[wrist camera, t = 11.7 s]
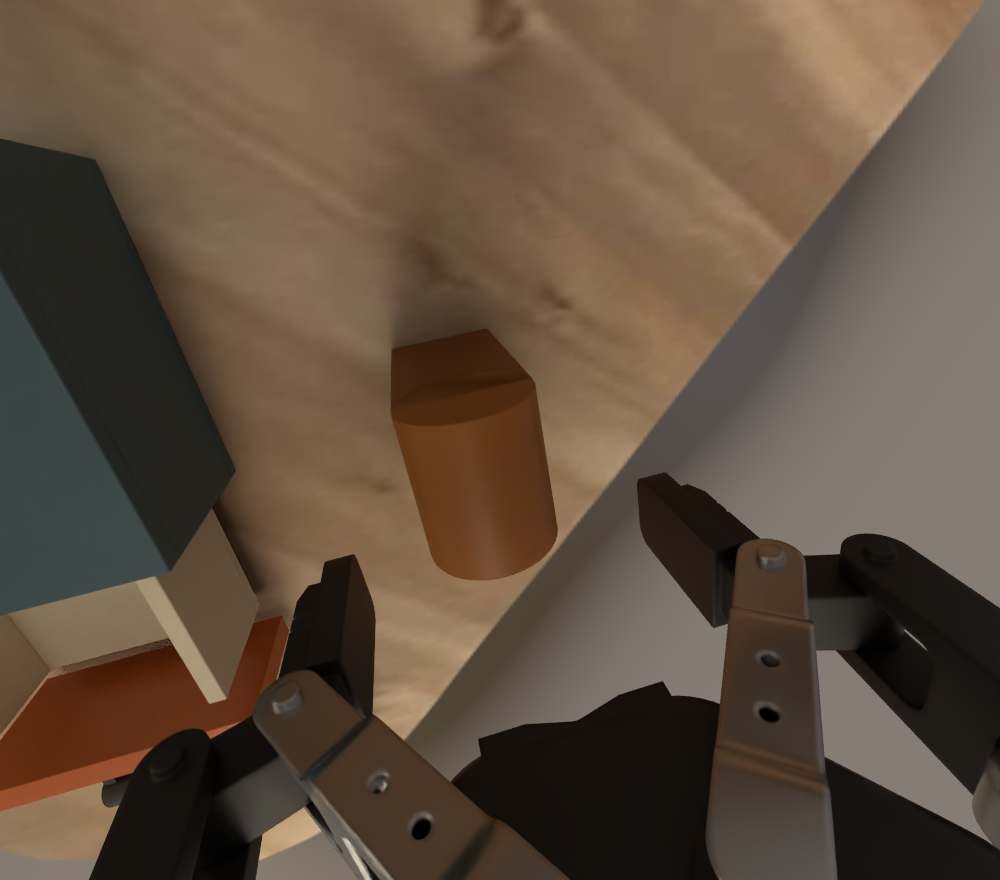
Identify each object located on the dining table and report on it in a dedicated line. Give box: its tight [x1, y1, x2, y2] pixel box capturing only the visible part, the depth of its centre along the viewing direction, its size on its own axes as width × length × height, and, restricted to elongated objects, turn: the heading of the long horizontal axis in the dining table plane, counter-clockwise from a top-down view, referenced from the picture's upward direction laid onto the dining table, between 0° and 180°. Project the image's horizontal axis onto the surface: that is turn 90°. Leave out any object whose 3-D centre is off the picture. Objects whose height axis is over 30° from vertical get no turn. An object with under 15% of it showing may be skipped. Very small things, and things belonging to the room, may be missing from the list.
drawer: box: [0, 509, 289, 811], centre depth 24 cm, size 18×13×7 cm
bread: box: [391, 329, 558, 580], centre depth 22 cm, size 6×5×12 cm
